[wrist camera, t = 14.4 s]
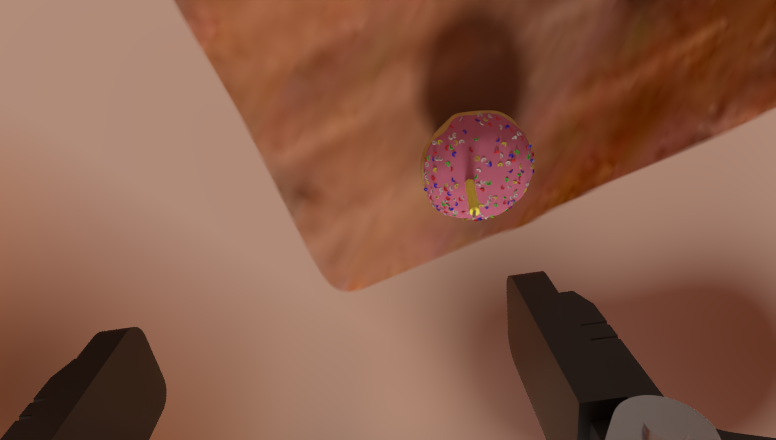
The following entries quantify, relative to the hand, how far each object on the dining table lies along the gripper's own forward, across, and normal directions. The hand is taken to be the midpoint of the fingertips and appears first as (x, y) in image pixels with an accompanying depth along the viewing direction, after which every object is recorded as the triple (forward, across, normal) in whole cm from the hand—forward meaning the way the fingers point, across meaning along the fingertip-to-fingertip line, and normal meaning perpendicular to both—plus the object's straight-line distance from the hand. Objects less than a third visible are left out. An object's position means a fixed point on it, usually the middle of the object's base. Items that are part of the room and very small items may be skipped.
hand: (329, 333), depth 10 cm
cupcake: (+30, -8, +6) cm, 32 cm away
